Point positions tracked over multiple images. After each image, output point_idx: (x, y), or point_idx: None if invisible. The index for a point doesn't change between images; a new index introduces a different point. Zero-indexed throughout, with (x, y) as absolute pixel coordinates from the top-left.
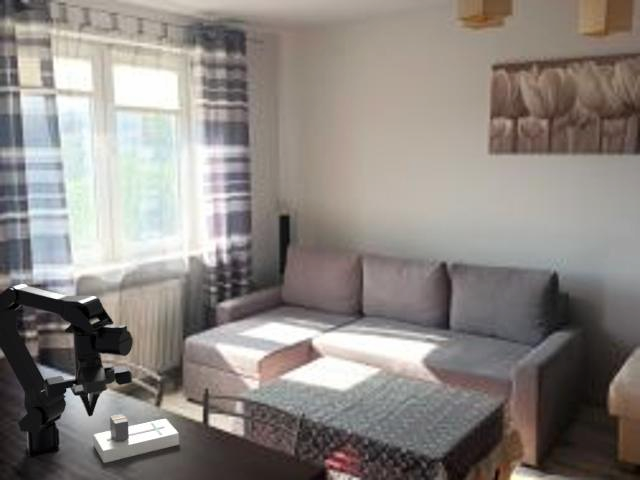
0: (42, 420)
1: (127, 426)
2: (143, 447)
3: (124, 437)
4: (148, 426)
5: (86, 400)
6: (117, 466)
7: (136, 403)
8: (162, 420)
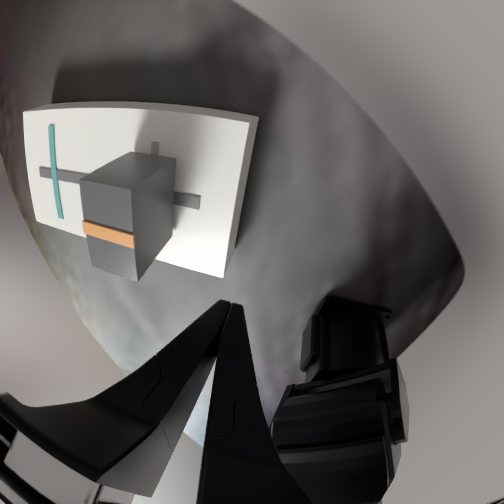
0: (381, 393)
1: (99, 169)
2: (113, 103)
3: (139, 155)
4: (68, 205)
5: (231, 417)
6: (229, 66)
7: (104, 342)
8: (41, 215)
